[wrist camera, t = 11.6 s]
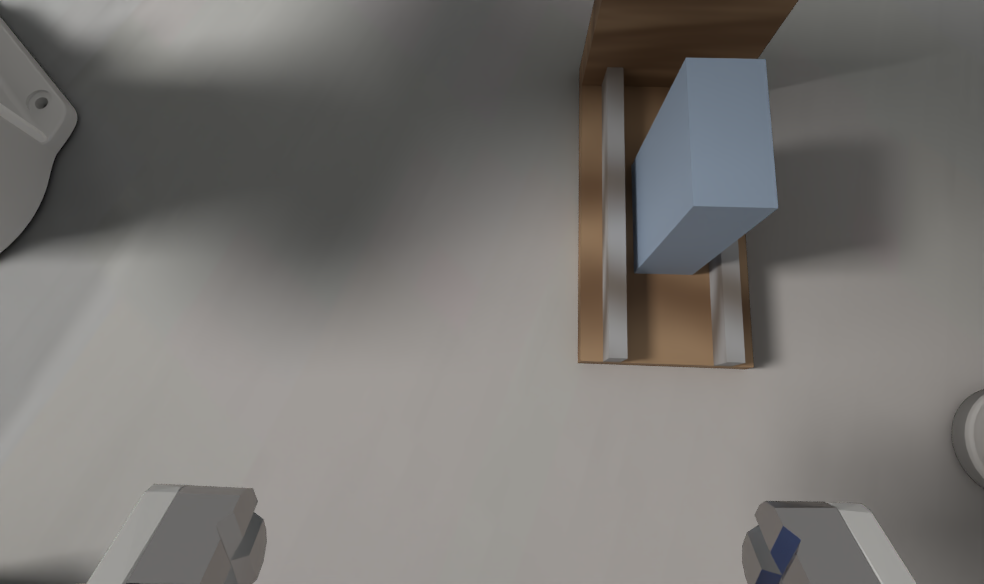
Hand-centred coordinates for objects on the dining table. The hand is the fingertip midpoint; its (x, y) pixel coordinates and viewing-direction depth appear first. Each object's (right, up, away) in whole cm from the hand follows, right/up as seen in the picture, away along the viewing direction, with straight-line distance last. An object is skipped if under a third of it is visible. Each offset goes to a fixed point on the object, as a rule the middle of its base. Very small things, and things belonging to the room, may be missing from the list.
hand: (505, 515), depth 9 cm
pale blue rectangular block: (+10, +8, +26) cm, 29 cm away
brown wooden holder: (+10, +9, +27) cm, 31 cm away
